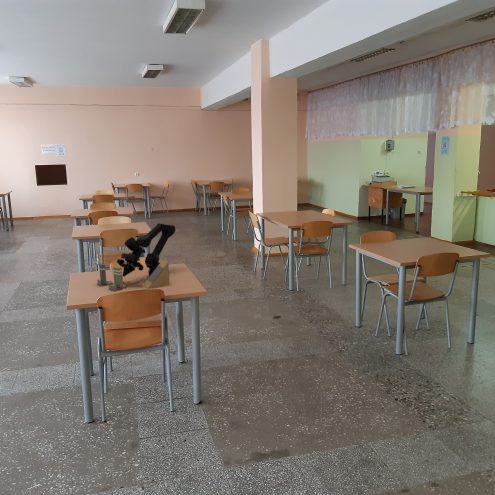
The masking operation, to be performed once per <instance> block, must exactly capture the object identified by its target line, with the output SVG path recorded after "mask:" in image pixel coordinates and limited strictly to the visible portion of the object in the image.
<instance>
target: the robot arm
mask: <svg viewBox="0 0 495 495" xmlns="http://www.w3.org/2000/svg"><path fill="white" fill-rule="evenodd" d="M160 233H161V235H160V237H159V239H158V241H157V243H156V245H155V246H154V248H153V250H152V252H150V253H147V254H146V248H148V247H149V246H150V245H151V243H152V240H153V239H154V238H155V237H157V236H158V235H159V234H160ZM175 233H176V226H175V225H174V224H165V223H159V222H158V223H157V224H156V225H155V226H154V227H153V228H152V229H150V231H148V232H147V233H146V234H145V235H143V236H142V235H141V236H140V237H138V238H137V240H136V239H135V238H134V237H132V236H131V237H129V238H128V239H127V240H125V241H124V246H125V247H126V248H127V249H128V250H129V251H131V252H129V253H124V252H121V257H120V258H118V259H117V260H116V263H117V264H118V265H119V267H122V268H123V269H122V273H123V274H122V276H123V277H126V276H127V275H129V274H130V273H132V272H134V271H136V268H138V271H142V272H143V270H144V269H145V268H144V265H143V264H142V263H141V262H139V261H140V260H141V259H140V258H141V256H142V255H143V254H146V256H145V258H144V263H145V266H146V269H147V268H148V270H147V273H148V278H149V277H150V275H151V274H152V273H153V272H154V270H155V269H156V268H157V266H158V265H159V264H160V263H161V262H160V256H161V253H162V251H163V249H164V247H165V245H166V243H167V241H168V240H169V238H171V237H172V236H173V235H175Z"/></svg>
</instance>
